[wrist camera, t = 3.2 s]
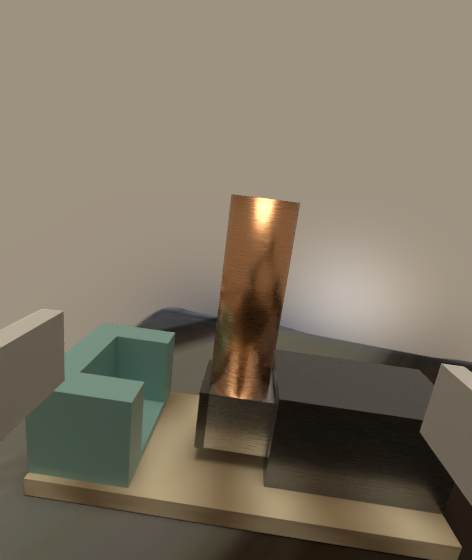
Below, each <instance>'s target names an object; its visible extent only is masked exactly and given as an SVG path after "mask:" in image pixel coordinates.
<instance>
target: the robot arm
mask: <svg viewBox="0 0 472 560" xmlns="http://www.w3.org/2000/svg"><path fill="white" fill-rule="evenodd" d="M63 321H64V315H63V311H58V310H50V309H43V308H42V309H40V310H38V311H36V312H34V313H32V314H30V315H28V316H26V317H24V318H22V319H20V320H18V321H16V322H14V323H12V324H10V325H8V326H6V327H4V328H2V329H0V441H1V440H2V439H3V438H4V437H5V436H6V435H7V434H9V433H10V432H11V431H12V430H13V429H14V428H15V427H16V426H17V425H18V424H19V423H20V422H21V421H22V420H23V419H24V418H26V417H27V416H28V415H29V414H30V413H31V412H32V411H33V410H34V409H35V408H36V407H37V406H38V405H39V404H40V403H41V402H42V401H44V400H45V399H46V398H47V397H48V396H49V395H50V394H51V393H52V392H53V391H54V390H55V389H56V388H57V387H58V386H59V385H60V384H62V383H63V382H64V381H65V368H64V322H63ZM420 433H421V435H422V436H423V437H424V439H425V440H426V442H427V443H428V445H429V446H430V447H431V449H432V450H433V452H434V453H435V454H436V456H437V457H438V459H439V460H440V462H441V463H442V464H443V466H444V467H445V469H446V470H447V471H448V473H449V474H450V476H451V477H452V478H453V480H454V481H455V483H456V484H457V486H458V487H459V488H460V490H461V491H462V493H463V494H464V495H465V497H466V498H467V500H468V501H469V503H470V504H471V505H472V373H471V372H470V371H469V370H468V369H466V368H465V367H462V366H455V365H448V364H441V366H440V369H439V373H438V376H437V379H436V382H435V385H434V388H433V391H432V394H431V398H430V401H429V404H428V407H427V410H426V413H425V416H424V420H423V423H422V426H421V429H420Z"/></svg>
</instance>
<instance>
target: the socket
mask: <svg viewBox="0 0 472 560" xmlns="http://www.w3.org/2000/svg"><path fill="white" fill-rule="evenodd" d="M174 339H175V333H173V332H166V331H159V330H152V329H145V328H137V327H130V326H123V325H115V324H109V323H103V324H101V325H100V326H99V327H98V328H97V329H95V330H94V331H93V332H91V333H90V334H89V335H88V336H87V337H85V338H84V339H83V340H81V341H80V342H79V343H78V344H76V345H75V346H74V347H73V348H71V349H70V350H69V351H68V352H66V353H65V354H64V368H65V381H64V382H63V383H62V384H60V385H59V386H58V387H57V388H56V389H55V390H54V391H53V392H52V393H51V394H50V395H49V396H48V397H47V398H46V399H45V400H44V401H42V402H41V403H40V404H39V405H38V406H37V407H36V408H35V409H34V410H33V411H32V412H31V413H30V414H29V415H28V416H27V417H26V418H25V420H26V437H27V455H28V473H34V474H41V475H47V476H53V477H60V478H66V479H73V480H79V481H85V482H92V483H98V484H104V485H111V486H117V487H123V488H128V487H129V485H130V483H131V481H132V478H133V476H134V474H135V472H136V469H137V467H138V465H139V463H140V460H141V458H142V456H143V454H144V452H145V449H146V447H147V445H148V443H149V440H150V438H151V436H152V434H153V431H154V429H155V427H156V425H157V422H158V420H159V418H160V416H161V413H162V411H163V409H164V407H165V405H166V402H167V400H168V398H169V396H170V390H171V377H172V364H173V351H174Z"/></svg>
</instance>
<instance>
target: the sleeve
mask: <svg viewBox="0 0 472 560" xmlns="http://www.w3.org/2000/svg"><path fill="white" fill-rule="evenodd" d="M272 370H273V373H274V383H275V393H276V407H275V413H274V419H273V424H272V430H271V436H270V441H269V447H268V452H267V457H263V482H264V487H269V488H275V489H282V490H288V491H295V492H301V493H308V494H314V495H321V496H327V497H333V498H340V499H346V500H353V501H359V502H366V503H372V504H379V505H385V506H391V507H398V508H404V509H411V510H417V511H424V512H430V513H437V514H443V511H444V509H445V506H446V503H447V501H448V498H449V495H450V493H451V490H452V487H453V485H454V482H455V481H454V480H453V478H452V477H451V476H450V474H449V473H448V471H447V470H446V469H445V467H444V466H443V464H442V463H441V462H440V460H439V459H438V457H437V456H436V454H435V453H434V452H433V450H432V449H431V447H430V446H429V445H428V443H427V442H426V440H425V439H424V437H423V436H422V435H421V433H420V429H421V426H422V423H423V420H424V416H425V413H426V410H427V407H428V404H429V401H430V398H431V394H432V391H433V388H434V385H433V384H432V383H431V382H430V381H429V380H428V378H427V377H426V376H425V375H424V374H423V373H422V372H421V371H420V370H417V369H410V368H403V367H396V366H388V365H381V364H374V363H367V362H360V361H353V360H346V359H339V358H332V357H325V356H318V355H310V354H303V353H296V352H289V351H282V350H275V355H274V361H273V367H272Z"/></svg>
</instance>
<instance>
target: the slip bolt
mask: <svg viewBox="0 0 472 560" xmlns="http://www.w3.org/2000/svg"><path fill="white" fill-rule="evenodd" d="M299 207H300V203H295V202H288V201H281V200H273V199H265V198H257V197H249V196H240V195H231V203H230V212H229V221H228V230H227V239H226V247H225V256H224V264H223V273H222V282H221V291H220V299H219V308H218V317H217V326H216V334H215V343H214V352H213V360H209V363H208V366H207V370H206V373H205V376H204V380H203V383H202V387H201V390H200V395H199V404H198V414H197V423H196V433H195V442H194V447H196V448H202V449H203V447H204V448H211V449H217V450H224V451H230V452H237V453H243V454H250V455H257V456H263V457H267V452H268V447H269V441H270V436H271V430H272V424H273V419H274V413H275V407H276V393H275V383H274V373H273V370H272V367H273V361H274V355H275V349H276V343H277V337H278V331H279V325H280V319H281V313H282V307H283V302H284V295H285V290H286V284H287V278H288V272H289V266H290V260H291V254H292V248H293V242H294V236H295V230H296V224H297V218H298V213H299Z"/></svg>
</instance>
